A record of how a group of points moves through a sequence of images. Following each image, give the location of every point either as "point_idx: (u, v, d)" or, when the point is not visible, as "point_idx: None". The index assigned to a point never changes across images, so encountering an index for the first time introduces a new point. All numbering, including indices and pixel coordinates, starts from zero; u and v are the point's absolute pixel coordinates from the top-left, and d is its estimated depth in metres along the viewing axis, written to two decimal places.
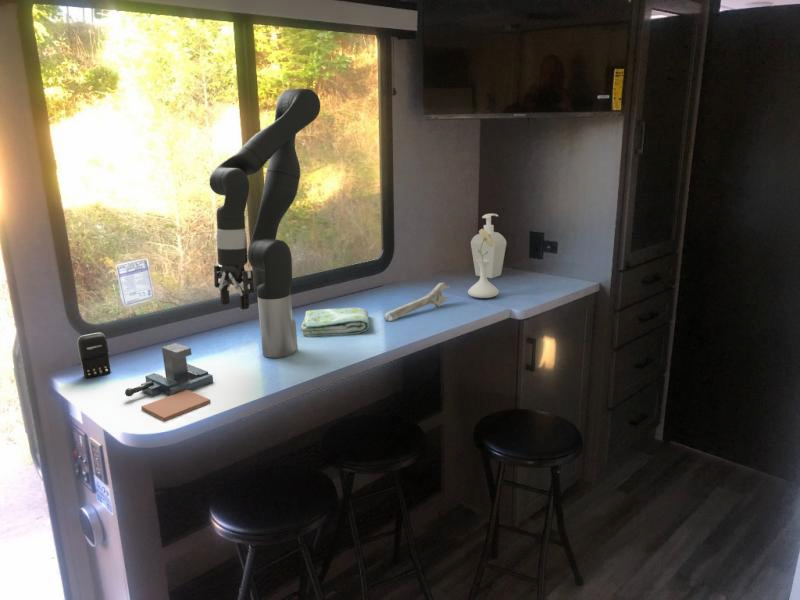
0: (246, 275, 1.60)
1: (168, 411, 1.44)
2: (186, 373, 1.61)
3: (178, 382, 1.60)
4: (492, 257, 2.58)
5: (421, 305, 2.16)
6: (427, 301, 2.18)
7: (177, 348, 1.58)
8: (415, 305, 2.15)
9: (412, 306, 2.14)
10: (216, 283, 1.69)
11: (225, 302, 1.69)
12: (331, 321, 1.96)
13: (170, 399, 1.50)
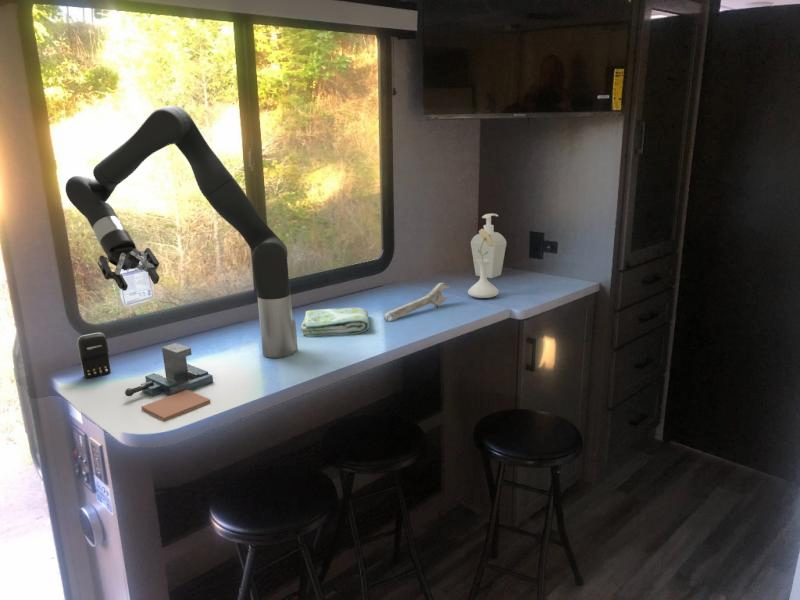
0: (98, 264, 1.60)
1: (168, 411, 1.44)
2: (186, 373, 1.61)
3: (178, 382, 1.60)
4: (492, 257, 2.58)
5: (421, 305, 2.16)
6: (427, 301, 2.18)
7: (177, 348, 1.58)
8: (415, 305, 2.15)
9: (412, 306, 2.14)
10: None
11: (154, 281, 1.66)
12: (331, 321, 1.96)
13: (170, 399, 1.50)
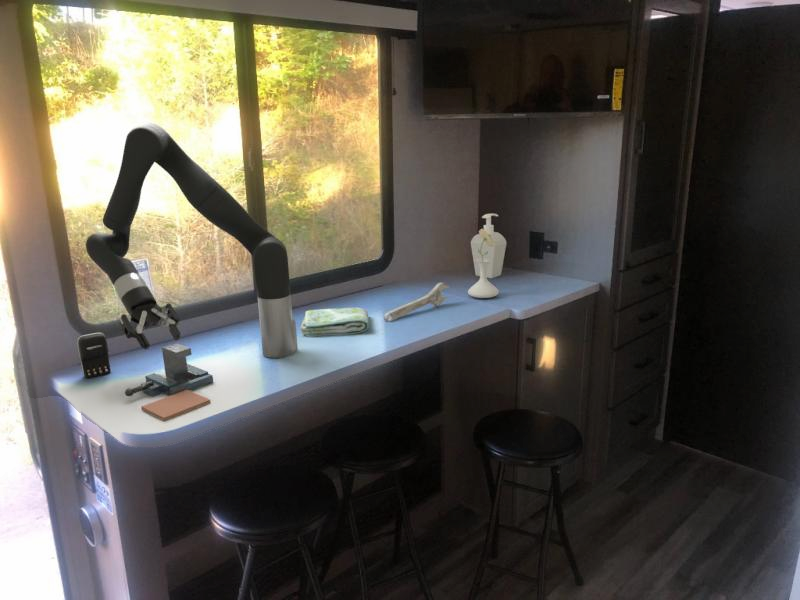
0: (120, 322, 1.60)
1: (168, 411, 1.44)
2: (186, 373, 1.61)
3: (178, 382, 1.60)
4: (492, 257, 2.58)
5: (420, 305, 2.16)
6: (426, 301, 2.18)
7: (177, 348, 1.58)
8: (414, 305, 2.15)
9: (411, 306, 2.14)
10: None
11: (175, 338, 1.66)
12: (331, 321, 1.96)
13: (170, 399, 1.50)
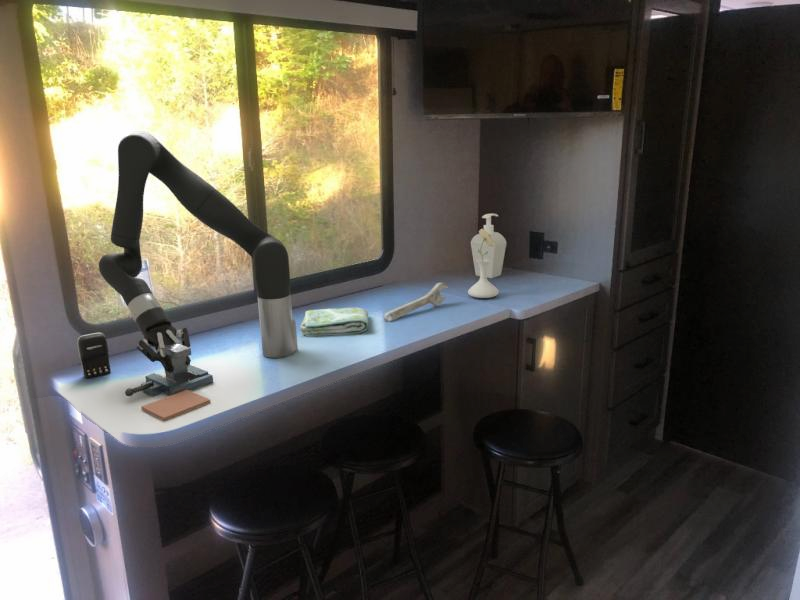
0: (139, 349, 1.58)
1: (168, 411, 1.44)
2: (186, 373, 1.61)
3: (178, 382, 1.60)
4: (492, 257, 2.58)
5: (420, 305, 2.17)
6: (426, 301, 2.18)
7: (177, 348, 1.58)
8: (414, 305, 2.15)
9: (411, 306, 2.14)
10: None
11: None
12: (330, 321, 1.96)
13: (170, 399, 1.50)
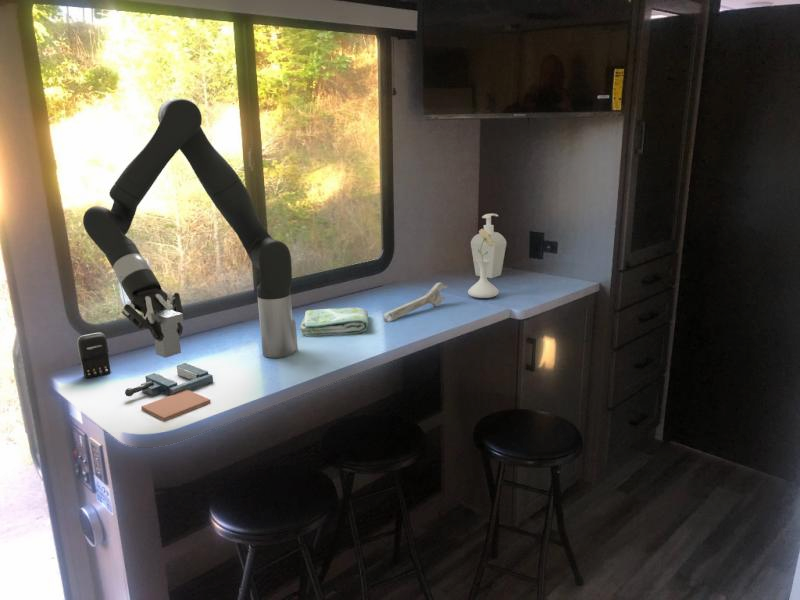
0: (124, 314, 1.41)
1: (168, 411, 1.44)
2: (178, 342, 1.44)
3: (168, 352, 1.43)
4: (492, 257, 2.58)
5: (419, 305, 2.17)
6: (425, 301, 2.18)
7: (167, 314, 1.41)
8: (413, 305, 2.15)
9: (411, 306, 2.14)
10: None
11: None
12: (330, 321, 1.96)
13: (170, 399, 1.50)
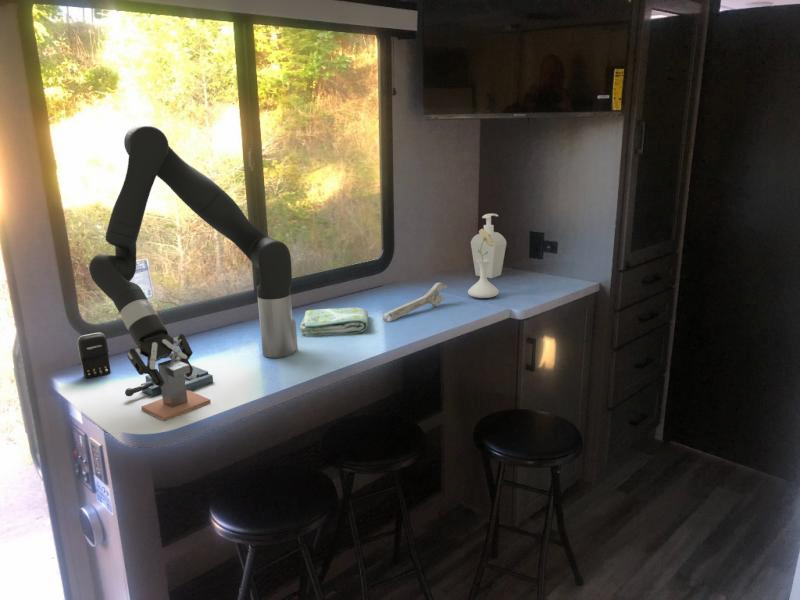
0: (129, 357, 1.43)
1: (168, 411, 1.44)
2: (185, 392, 1.48)
3: (175, 402, 1.46)
4: (492, 257, 2.58)
5: (419, 305, 2.17)
6: (425, 301, 2.18)
7: (174, 365, 1.44)
8: (413, 305, 2.15)
9: (410, 306, 2.14)
10: None
11: (187, 374, 1.48)
12: (330, 321, 1.96)
13: None
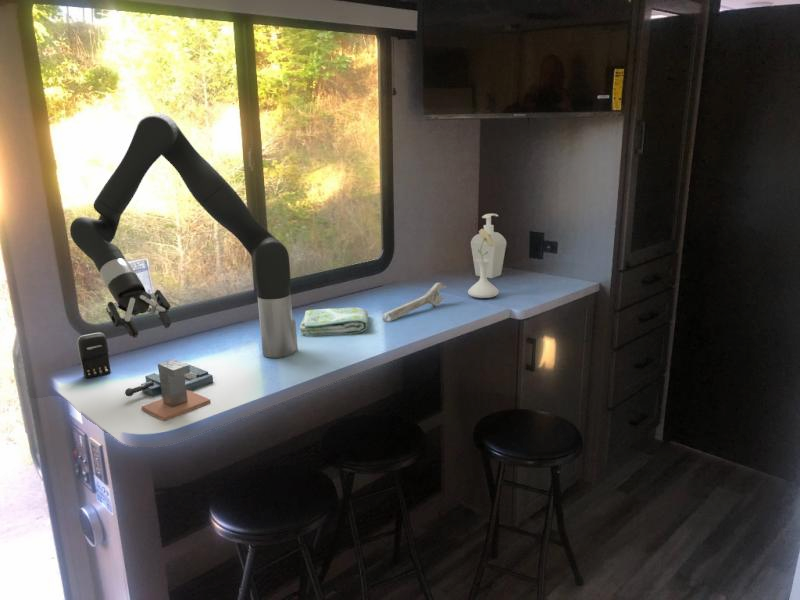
0: (107, 310, 1.53)
1: (168, 411, 1.44)
2: (185, 392, 1.48)
3: (175, 402, 1.46)
4: (492, 257, 2.58)
5: (419, 305, 2.16)
6: (424, 301, 2.18)
7: (174, 365, 1.44)
8: (413, 305, 2.15)
9: (410, 306, 2.14)
10: None
11: (165, 325, 1.58)
12: (330, 321, 1.96)
13: None
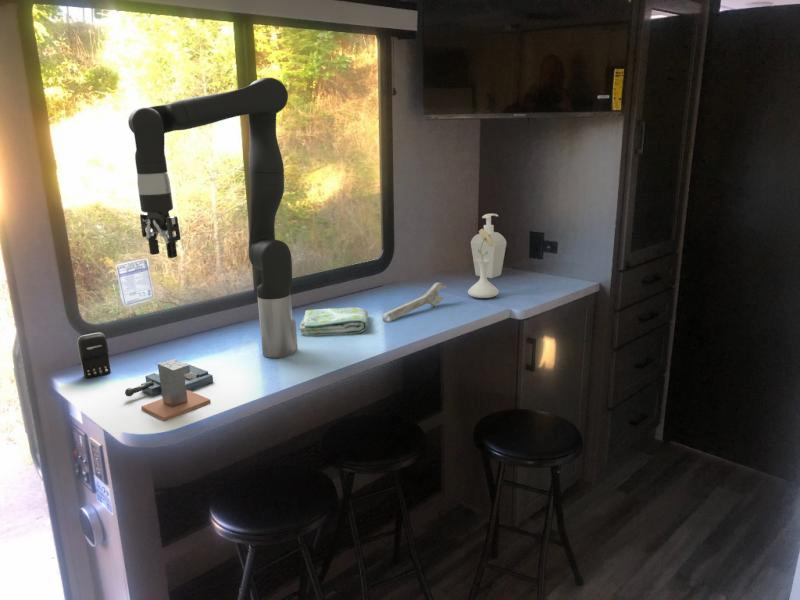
0: (170, 221, 1.53)
1: (168, 411, 1.44)
2: (185, 392, 1.48)
3: (175, 402, 1.46)
4: (492, 257, 2.58)
5: (418, 305, 2.16)
6: (424, 301, 2.18)
7: (174, 365, 1.44)
8: (412, 305, 2.15)
9: (409, 306, 2.14)
10: (143, 232, 1.62)
11: (154, 252, 1.62)
12: (329, 321, 1.96)
13: None
